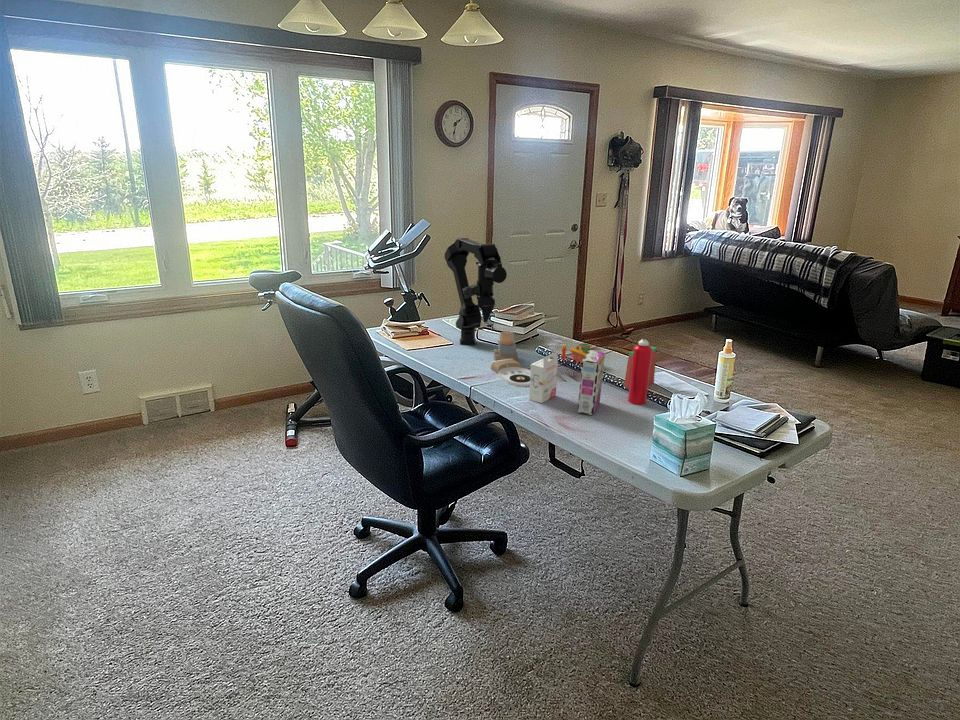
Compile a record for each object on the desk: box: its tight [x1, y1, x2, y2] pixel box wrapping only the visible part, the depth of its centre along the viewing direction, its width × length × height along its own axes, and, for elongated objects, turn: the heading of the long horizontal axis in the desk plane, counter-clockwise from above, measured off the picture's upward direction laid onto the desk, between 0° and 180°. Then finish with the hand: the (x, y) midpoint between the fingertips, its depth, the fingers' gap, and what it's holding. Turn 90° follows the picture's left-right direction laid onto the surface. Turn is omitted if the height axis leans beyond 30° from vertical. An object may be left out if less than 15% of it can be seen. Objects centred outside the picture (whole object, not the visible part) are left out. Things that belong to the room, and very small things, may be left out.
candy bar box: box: [577, 350, 606, 416], centre depth 170 cm, size 11×5×16 cm, turn 159°
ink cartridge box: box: [528, 351, 559, 404], centre depth 177 cm, size 9×5×15 cm, turn 143°
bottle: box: [627, 338, 652, 406], centre depth 175 cm, size 5×6×20 cm
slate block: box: [497, 340, 517, 355], centre depth 211 cm, size 6×6×4 cm
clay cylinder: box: [499, 331, 515, 346], centre depth 210 cm, size 5×5×4 cm
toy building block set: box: [560, 342, 657, 388], centre depth 201 cm, size 12×35×14 cm, turn 34°
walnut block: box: [493, 348, 519, 362], centre depth 212 cm, size 8×8×4 cm
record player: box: [489, 358, 530, 387], centre depth 197 cm, size 12×3×20 cm
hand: (484, 319), depth 218 cm, fingers open, 9 cm apart
